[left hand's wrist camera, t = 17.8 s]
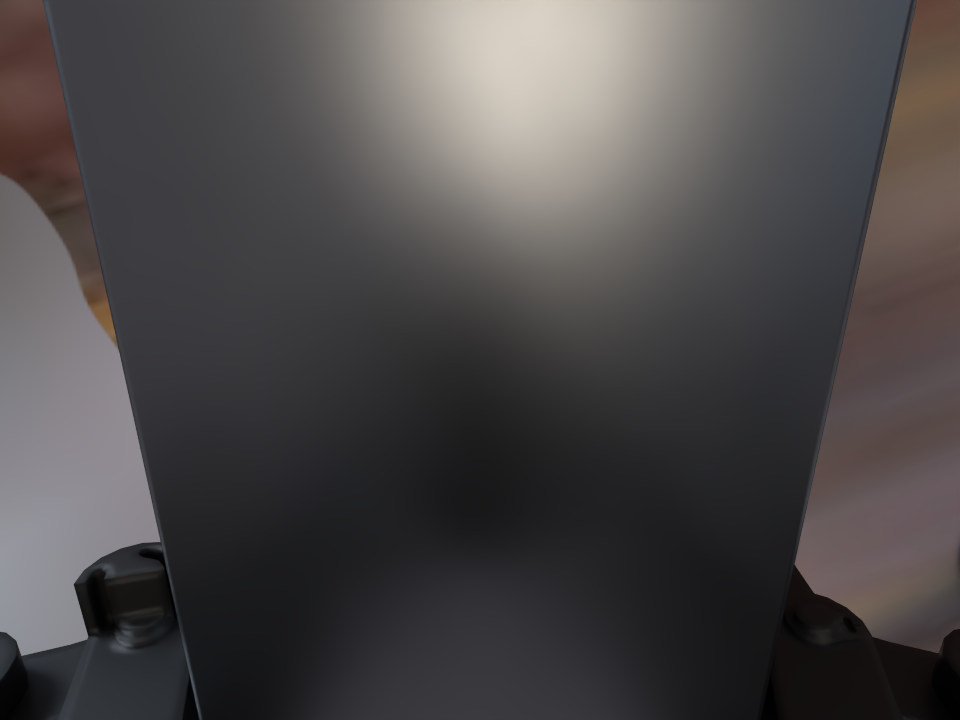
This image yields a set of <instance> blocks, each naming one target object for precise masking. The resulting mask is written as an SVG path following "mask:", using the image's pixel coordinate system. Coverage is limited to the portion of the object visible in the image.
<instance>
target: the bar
mask: <svg viewBox="0 0 960 720" xmlns="http://www.w3.org/2000/svg"><path fill="white" fill-rule="evenodd" d="M916 2H917V0H43V3H44V8H45V12H46V17H47V22H48V26H49V31H50V35H51V40H52V45H53V49H54V54H55V58H56V63H57V68H58V72H59V77H60V81H61V86H62V90H63V95H64V100H65V104H66V109H67V113H68V118H69V123H70V127H71V132H72V136H73V141H74V146H75V150H76V155H77V159H78V164H79V169H80V173H81V178H82V182H83V187H84V192H85V196H86V201H87V205H88V210H89V215H90V219H91V224H92V228H93V233H94V237H95V242H96V247H97V251H98V256H99V260H100V265H101V270H102V274H103V279H104V283H105V288H106V293H107V297H108V302H109V306H110V311H111V316H112V320H113V325H114V329H115V334H116V339H117V343H118V348H119V352H120V357H121V362H122V366H123V371H124V375H125V380H126V384H127V389H128V394H129V398H130V403H131V407H132V412H133V417H134V421H135V426H136V430H137V435H138V439H139V444H140V449H141V453H142V458H143V462H144V467H145V472H146V476H147V481H148V485H149V490H150V495H151V499H152V504H153V508H154V513H155V517H156V522H157V527H158V531H159V536H160V541H161V545H162V550H163V554H164V559H165V564H166V568H167V573H168V577H169V582H170V587H171V591H172V596H173V600H174V605H175V610H176V614H177V619H178V623H179V628H180V633H181V637H182V642H183V646H184V651H185V655H186V660H187V665H188V669H189V674H190V678H191V683H192V688H193V692H194V697H195V701H196V706H197V711H198V715H199V720H761V715H762V711H763V706H764V701H765V697H766V692H767V688H768V683H769V678H770V674H771V669H772V665H773V660H774V655H775V651H776V646H777V642H778V637H779V632H780V628H781V623H782V619H783V614H784V609H785V605H786V600H787V596H788V591H789V586H790V582H791V577H792V573H793V568H794V563H795V559H796V554H797V550H798V545H799V540H800V536H801V531H802V527H803V522H804V517H805V513H806V508H807V504H808V499H809V494H810V490H811V485H812V481H813V476H814V471H815V467H816V462H817V458H818V453H819V448H820V444H821V439H822V435H823V430H824V425H825V421H826V416H827V412H828V407H829V402H830V398H831V393H832V389H833V384H834V379H835V375H836V370H837V366H838V361H839V356H840V352H841V347H842V343H843V338H844V333H845V329H846V324H847V320H848V315H849V310H850V306H851V301H852V297H853V292H854V287H855V283H856V278H857V274H858V269H859V264H860V260H861V255H862V251H863V246H864V241H865V237H866V232H867V228H868V223H869V218H870V214H871V209H872V205H873V200H874V195H875V191H876V186H877V182H878V177H879V172H880V168H881V163H882V159H883V154H884V149H885V145H886V140H887V136H888V131H889V126H890V122H891V117H892V113H893V108H894V103H895V99H896V94H897V90H898V85H899V80H900V76H901V71H902V67H903V62H904V57H905V53H906V48H907V44H908V39H909V34H910V30H911V25H912V21H913V16H914V11H915V7H916Z"/></svg>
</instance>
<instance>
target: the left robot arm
mask: <svg viewBox="0 0 960 720" xmlns="http://www.w3.org/2000/svg"><path fill="white" fill-rule="evenodd" d="M74 587H75V590H76V594H77V597H78V601H79V604H80V608H81V612H82V615H83V619H84V622H85V626H86V629H87V633H88V639H87V640H84V641H81V642H78V643H75V644H71V645H67V646H63V647H59V648H54V649H50V650H46V651H41V652H37V653H33V654H28V655H24V656H21V654H20V651H19V648H18V645H17V642H16V640H15V639H13V638H12V637H11V636H10V635H8V634H7V633H4V632H0V720H199V715H198V711H197V706H196V701H195V697H194V692H193V688H192V683H191V678H190V674H189V669H188V665H187V660H186V655H185V651H184V646H183V642H182V637H181V633H180V628H179V623H178V619H177V614H176V610H175V605H174V600H173V596H172V591H171V587H170V582H169V577H168V573H167V568H166V564H165V559H164V554H163V550H162V545H161V542H154V543H141V544H137V545H133V546H129V547H125V548H122V549H119V550H117V551H115V552H113V553H110V554H108V555H106V556H104V557H102V558H100V559H99V560H97V561H96V562H95V563H93V564H92V565H91V566H89V567H88V568H87V569H85V570H84V571H83V573H82V574H81V575H80V577H79V578H78V579H77V581H76V582H75V583H74ZM761 720H960V629H958V630H954V631H952V632H951V633H950V634H949V635H947V636H946V637H945V638H944V640H943V643H942V646H941V649H940V652H939V653H934V652H930V651H926V650H921V649H917V648H913V647H908V646H904V645H900V644H895V643H891V642H887V641H884V640H881V639H877V638H874V637H872V635H871V634H870V632H869V631H868V629H867V627H866V626H865V624H864V623H863V621H862V620H861V619H860V618H858V617H857V616H856V615H855V614H854V613H852V612H851V611H850V610H849V609H848V608H846V607H845V606H843V605H841V604H839V603H837V602H835V601H833V600H831V599H829V598H827V597H824V596H820V595H817V594H814V593H813V591H812V590H811V588H810V587H809V585H808V584H807V582H806V581H805V579H804V578H803V577H802V575H801V574H800V572H799V571H798V569H797V568H796V566H795V565H794V568H793V573H792V577H791V582H790V586H789V591H788V596H787V600H786V605H785V609H784V614H783V619H782V623H781V628H780V632H779V637H778V642H777V646H776V651H775V655H774V660H773V665H772V669H771V674H770V678H769V683H768V688H767V692H766V697H765V701H764V706H763V711H762V715H761Z"/></svg>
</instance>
